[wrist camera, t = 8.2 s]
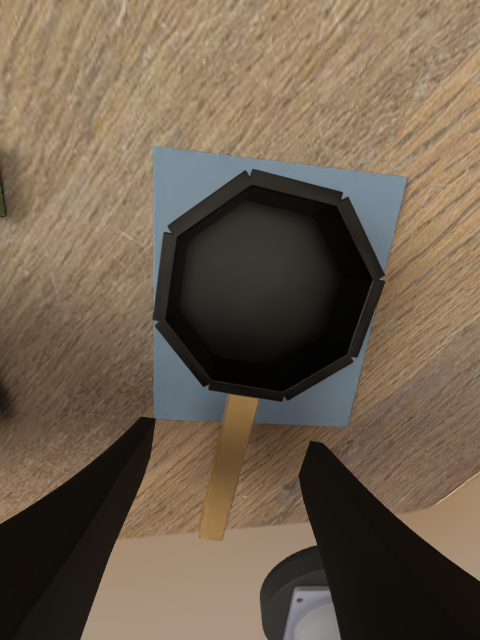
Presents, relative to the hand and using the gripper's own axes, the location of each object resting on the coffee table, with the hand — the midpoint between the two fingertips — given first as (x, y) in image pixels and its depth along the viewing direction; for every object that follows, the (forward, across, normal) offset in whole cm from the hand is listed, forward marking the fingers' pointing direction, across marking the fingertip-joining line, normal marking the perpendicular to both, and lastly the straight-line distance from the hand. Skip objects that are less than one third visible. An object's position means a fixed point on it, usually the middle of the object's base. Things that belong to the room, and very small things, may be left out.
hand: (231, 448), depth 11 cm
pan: (+2, 0, -3) cm, 4 cm away
